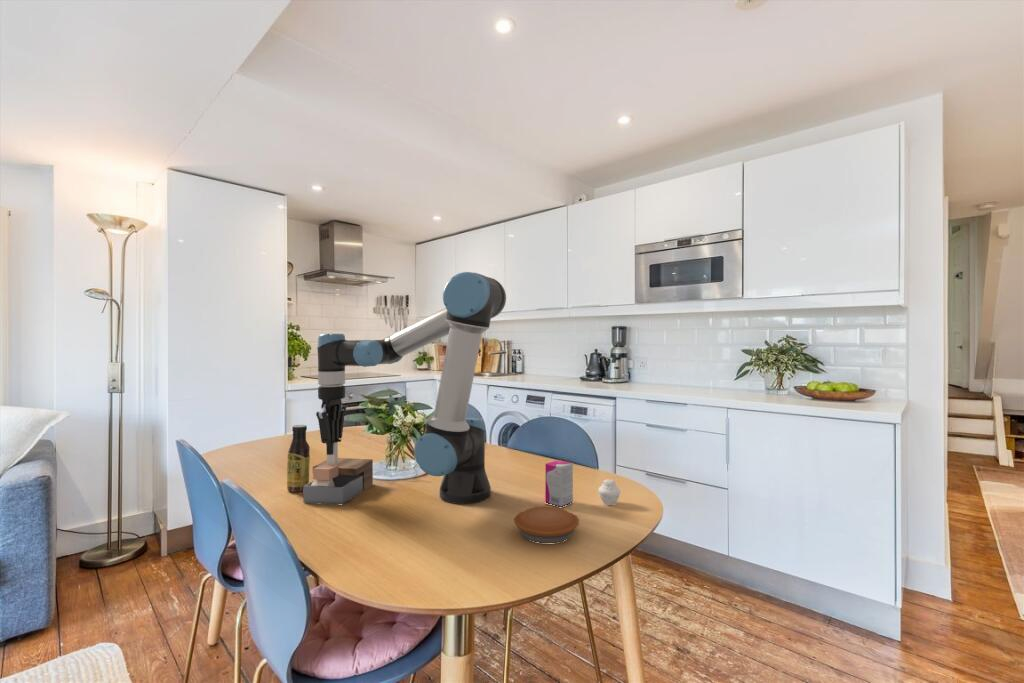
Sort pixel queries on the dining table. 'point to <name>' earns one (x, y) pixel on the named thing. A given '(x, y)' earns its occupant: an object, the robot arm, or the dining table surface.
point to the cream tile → (323, 483)
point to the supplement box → (559, 483)
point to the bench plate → (355, 469)
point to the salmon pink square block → (325, 472)
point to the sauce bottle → (298, 460)
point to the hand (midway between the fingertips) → (332, 464)
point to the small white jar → (609, 492)
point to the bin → (334, 490)
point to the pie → (546, 524)
